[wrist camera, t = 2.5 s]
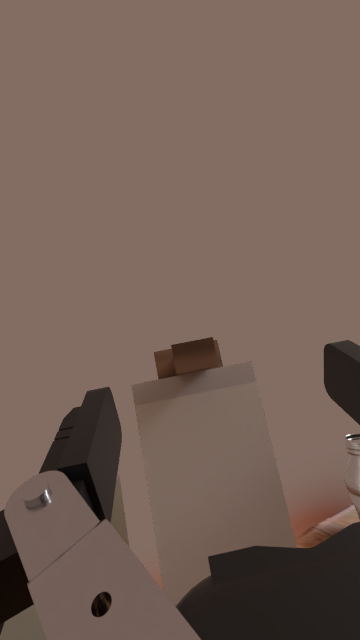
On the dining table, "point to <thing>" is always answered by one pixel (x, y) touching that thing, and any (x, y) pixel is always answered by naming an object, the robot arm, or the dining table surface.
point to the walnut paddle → (188, 358)
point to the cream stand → (208, 471)
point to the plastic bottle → (353, 469)
